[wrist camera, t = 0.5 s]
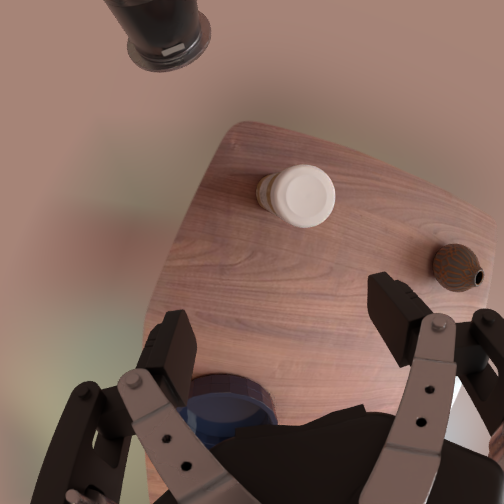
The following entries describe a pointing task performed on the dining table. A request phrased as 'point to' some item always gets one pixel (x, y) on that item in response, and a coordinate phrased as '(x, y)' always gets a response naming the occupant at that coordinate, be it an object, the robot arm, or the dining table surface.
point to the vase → (457, 268)
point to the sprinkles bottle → (298, 195)
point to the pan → (225, 407)
